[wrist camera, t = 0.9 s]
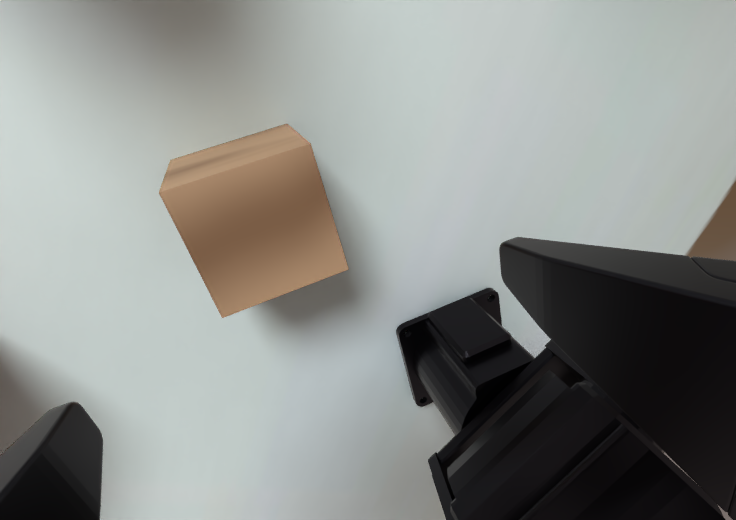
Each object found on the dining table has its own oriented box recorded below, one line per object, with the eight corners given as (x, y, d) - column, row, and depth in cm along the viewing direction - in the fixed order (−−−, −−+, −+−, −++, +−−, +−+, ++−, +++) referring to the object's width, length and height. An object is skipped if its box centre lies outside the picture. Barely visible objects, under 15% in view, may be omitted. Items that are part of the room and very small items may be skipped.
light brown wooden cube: (320, 226, 21) (348, 269, 17) (219, 262, 20) (222, 317, 16) (286, 123, 19) (310, 143, 14) (170, 159, 18) (158, 192, 13)
